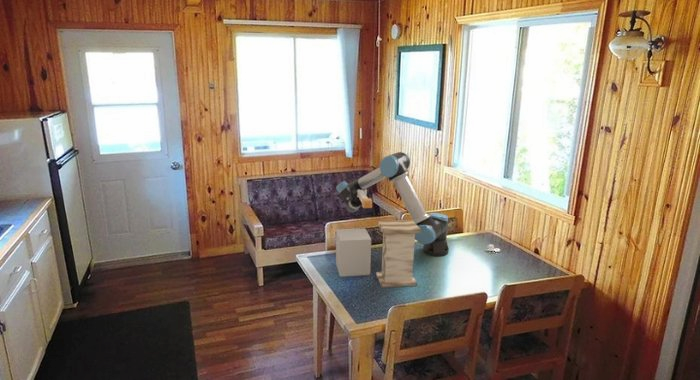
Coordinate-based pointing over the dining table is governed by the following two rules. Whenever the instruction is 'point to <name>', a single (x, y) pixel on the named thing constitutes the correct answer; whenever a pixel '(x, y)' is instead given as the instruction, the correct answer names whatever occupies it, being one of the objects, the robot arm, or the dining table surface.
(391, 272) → the parchment scroll
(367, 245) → the tall block
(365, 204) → the plug bar
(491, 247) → the teacup and saucer
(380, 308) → the dining table surface
